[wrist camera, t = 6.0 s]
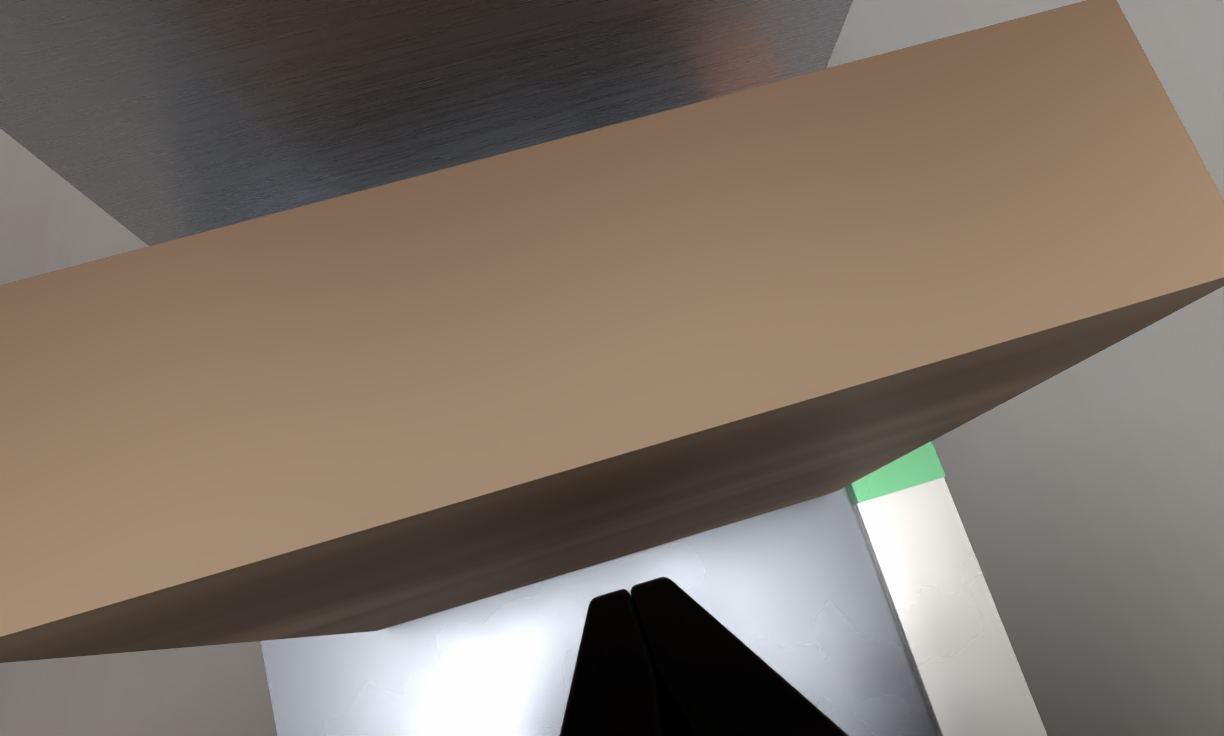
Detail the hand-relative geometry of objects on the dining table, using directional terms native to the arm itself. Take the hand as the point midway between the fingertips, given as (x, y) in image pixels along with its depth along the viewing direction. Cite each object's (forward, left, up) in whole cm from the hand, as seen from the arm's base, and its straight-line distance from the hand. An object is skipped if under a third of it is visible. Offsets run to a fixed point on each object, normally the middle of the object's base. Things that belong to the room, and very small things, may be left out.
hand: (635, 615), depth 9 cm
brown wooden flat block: (+2, -1, -5) cm, 6 cm away
